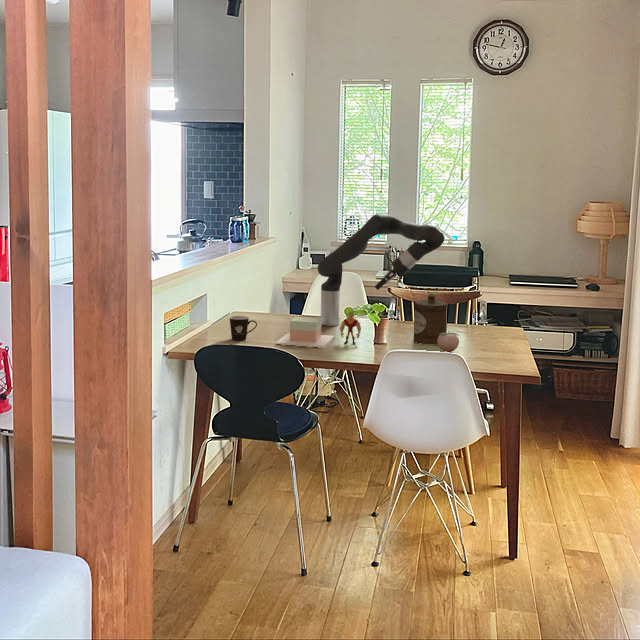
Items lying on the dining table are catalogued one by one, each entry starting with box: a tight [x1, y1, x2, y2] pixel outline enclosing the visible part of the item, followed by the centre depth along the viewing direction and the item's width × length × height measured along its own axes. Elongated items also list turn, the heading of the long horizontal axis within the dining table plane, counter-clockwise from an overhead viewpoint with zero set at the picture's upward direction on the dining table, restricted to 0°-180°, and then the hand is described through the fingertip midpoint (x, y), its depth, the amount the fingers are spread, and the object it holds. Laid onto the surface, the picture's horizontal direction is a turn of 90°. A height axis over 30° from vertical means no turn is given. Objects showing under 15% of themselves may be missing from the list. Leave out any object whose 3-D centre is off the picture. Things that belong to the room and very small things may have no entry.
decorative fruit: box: [437, 332, 460, 353], centre depth 347 cm, size 9×8×10 cm
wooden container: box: [413, 293, 448, 345], centre depth 368 cm, size 15×15×22 cm
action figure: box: [339, 310, 362, 345], centre depth 361 cm, size 10×4×15 cm, turn 82°
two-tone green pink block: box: [275, 316, 335, 349], centre depth 363 cm, size 22×22×10 cm
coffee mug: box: [229, 315, 258, 342], centre depth 364 cm, size 12×9×10 cm
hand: (377, 286), depth 354 cm, fingers open, 8 cm apart
